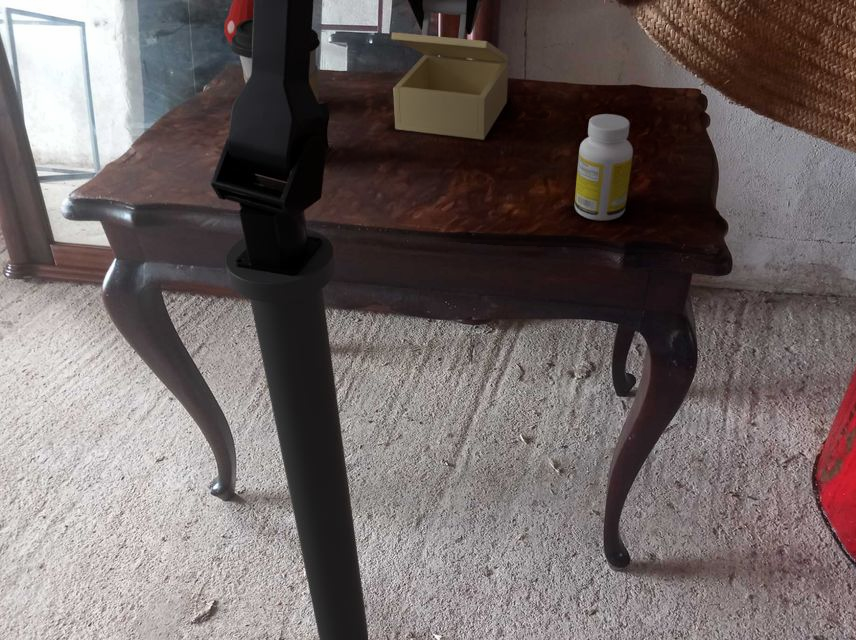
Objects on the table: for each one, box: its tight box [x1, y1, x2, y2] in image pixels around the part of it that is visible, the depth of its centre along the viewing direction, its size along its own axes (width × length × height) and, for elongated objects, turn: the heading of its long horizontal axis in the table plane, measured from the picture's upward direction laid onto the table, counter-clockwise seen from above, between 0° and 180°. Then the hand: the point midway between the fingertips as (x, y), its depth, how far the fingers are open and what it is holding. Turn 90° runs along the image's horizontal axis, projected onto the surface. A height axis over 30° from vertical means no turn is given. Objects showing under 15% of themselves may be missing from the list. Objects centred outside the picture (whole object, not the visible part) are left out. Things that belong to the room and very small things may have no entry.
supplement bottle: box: [574, 113, 634, 221], centre depth 81 cm, size 5×5×10 cm
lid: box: [391, 0, 509, 63], centre depth 98 cm, size 13×12×5 cm
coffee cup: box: [230, 18, 321, 101], centre depth 89 cm, size 9×9×15 cm
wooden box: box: [392, 54, 509, 141], centre depth 102 cm, size 13×12×5 cm
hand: (446, 31), depth 95 cm, fingers closed on lid, 5 cm apart
